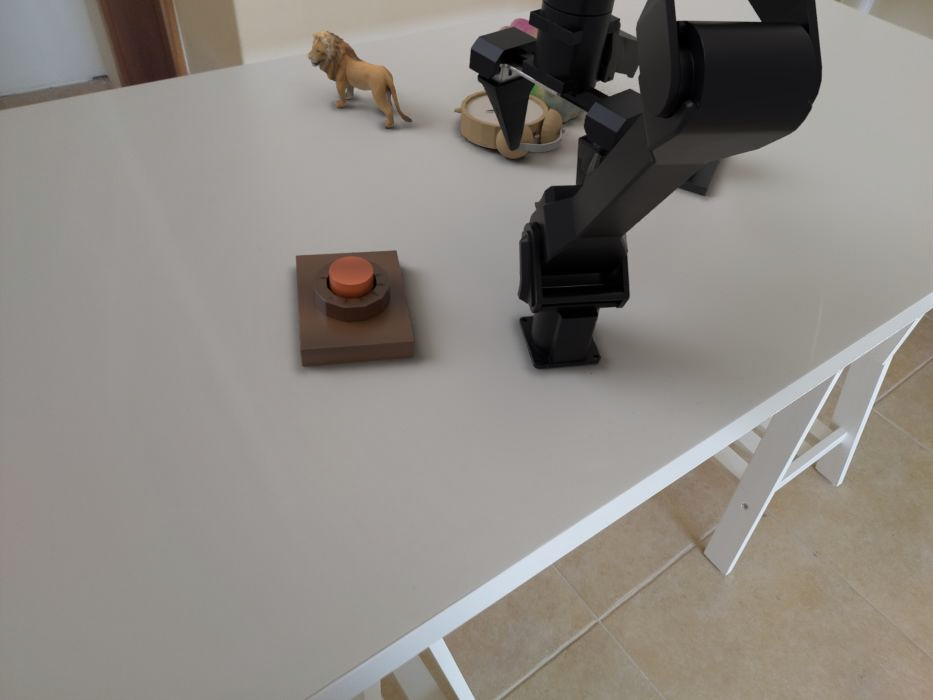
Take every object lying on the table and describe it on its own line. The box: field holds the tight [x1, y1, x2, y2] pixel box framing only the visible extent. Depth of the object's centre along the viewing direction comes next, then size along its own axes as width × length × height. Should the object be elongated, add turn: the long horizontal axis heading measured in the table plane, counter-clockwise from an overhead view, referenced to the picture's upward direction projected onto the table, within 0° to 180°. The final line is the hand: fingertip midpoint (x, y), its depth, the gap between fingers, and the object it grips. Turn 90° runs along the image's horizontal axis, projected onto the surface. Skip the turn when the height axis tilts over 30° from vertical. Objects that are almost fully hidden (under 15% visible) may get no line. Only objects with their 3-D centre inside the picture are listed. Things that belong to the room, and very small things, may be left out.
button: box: [329, 256, 374, 299], centre depth 67 cm, size 4×4×2 cm
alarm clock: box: [453, 90, 566, 160], centre depth 94 cm, size 11×5×15 cm
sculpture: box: [497, 17, 581, 123], centre depth 100 cm, size 15×8×10 cm, turn 46°
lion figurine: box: [306, 30, 413, 129], centre depth 94 cm, size 15×5×9 cm, turn 66°
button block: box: [295, 249, 415, 367], centre depth 69 cm, size 13×10×4 cm
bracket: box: [677, 159, 721, 197], centre depth 92 cm, size 12×9×8 cm
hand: (546, 170), depth 70 cm, fingers open, 9 cm apart
